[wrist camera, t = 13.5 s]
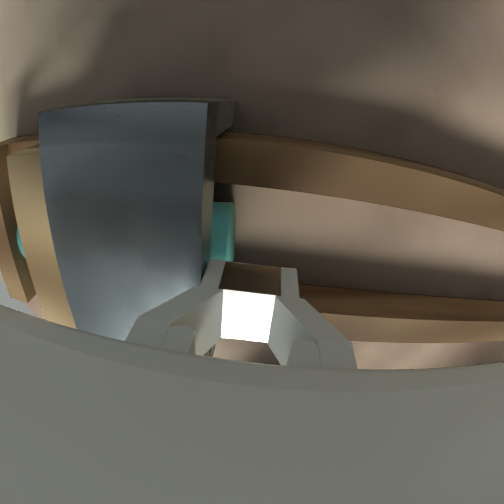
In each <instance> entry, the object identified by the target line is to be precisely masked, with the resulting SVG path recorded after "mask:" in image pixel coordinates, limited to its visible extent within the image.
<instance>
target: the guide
mask: <svg viewBox="0 0 504 504" xmlns="http://www.w3.org/2000/svg"><path fill="white" fill-rule="evenodd" d="M214 182H217V183H228V184H238V185H247V186H256V187H265V188H274V189H282V190H290V191H297V192H305V193H312V194H319V195H326V196H332V197H339V198H345V199H351V200H357V201H363V202H369V203H375V204H381V205H386V206H392V207H397V208H402V209H408V210H413V211H418V212H423V213H428V214H432V215H437V216H442V217H446V218H451V219H455V220H460V221H464V222H468V223H473V224H477V225H481V226H485V227H489V228H493V229H497V230H501V231H504V189H501V188H498V187H495V186H492V185H490V184H487V183H484V182H481V181H478V180H475V179H472V178H469V177H466V176H462V175H459V174H456V173H453V172H449V171H446V170H442V169H439V168H435V167H432V166H428V165H424V164H421V163H417V162H413V161H409V160H405V159H401V158H396V157H392V156H388V155H383V154H379V153H374V152H369V151H365V150H360V149H354V148H349V147H344V146H338V145H333V144H327V143H321V142H314V141H308V140H301V139H294V138H286V137H278V136H270V135H261V134H251V133H240V132H228V131H224V132H222V133H221V134H220V135H218V136H217V142H216V157H215V174H214ZM17 226H18V230H19V234H20V239H21V243H22V247H23V250H24V254H25V257H24V256H23V255H22V253H21V252H20V249H19V246H18V242H17ZM0 269H1V272H2V275H3V278H4V281H5V284H6V286H7V289H8V292H9V294H10V297H11V298H14V299H17V300H20V301H23V302H27V303H28V302H29V301H30V300H31V299H32V298H33V297H34V296H35V294H37V297H38V300H39V302H40V305H41V308H42V311H43V313H44V316H45V319H46V320H47V321H50V322H54V323H57V324H61V325H64V326H67V327H71V328H75V329H77V328H76V325H75V322H74V319H73V316H72V313H71V309H70V306H69V303H68V300H67V296H66V293H65V289H64V286H63V282H62V278H61V275H60V271H59V267H58V263H57V259H56V254H55V250H54V245H53V241H52V236H51V231H50V226H49V220H48V215H47V209H46V202H45V196H44V188H43V180H42V171H41V161H40V149H39V134H34V135H25V136H18V137H14V138H11V139H8V140H5V141H3V142H0ZM298 286H299V297H300V298H302V299H305V300H306V301H307V302H308V303H309V304H310V305H311V306H312V307H313V308H314V309H316V310H317V311H318V312H319V313H320V314H321V315H322V316H323V317H324V318H325V319H326V320H327V321H329V322H330V323H331V324H332V325H333V326H334V327H335V328H336V329H337V330H338V331H339V332H340V333H341V334H343V335H344V336H345V337H346V338H347V339H348V340H349V341H366V342H395V343H463V342H490V341H504V301H491V300H475V299H461V298H447V297H434V296H422V295H410V294H398V293H387V292H376V291H366V290H355V289H345V288H335V287H325V286H316V285H306V284H298Z"/></svg>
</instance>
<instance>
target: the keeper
mask: <svg viewBox="0 0 504 504" xmlns="http://www.w3.org/2000/svg"><path fill="white" fill-rule="evenodd" d="M234 106H235V99H222V98H198V97H149V98H126V99H112V100H104V101H97V102H90V103H84V104H78V105H72V106H67V107H61V108H56V109H52V110H47V111H42V112H38V133H39V149H40V161H41V171H42V180H43V188H44V196H45V202H46V209H47V215H48V220H49V226H50V231H51V236H52V241H53V245H54V250H55V254H56V259H57V263H58V267H59V271H60V275H61V278H62V282H63V286H64V289H65V293H66V296H67V300H68V303H69V306H70V309H71V313H72V316H73V319H74V322H75V325H76V328H77V329H78V330H82V331H86V332H90V333H93V334H97V335H101V336H106V337H110V338H114V339H118V340H123V341H125V340H126V338H127V336H128V334H129V332H130V330H131V329H132V327H133V325H134V323H135V321H136V319H137V317H139V316H140V315H142V314H144V313H146V312H148V311H150V310H152V309H153V308H155V307H157V306H159V305H161V304H163V303H165V302H166V301H168V300H170V299H172V298H174V297H176V296H178V295H179V294H181V293H183V292H185V291H187V290H189V289H190V288H192V287H194V286H200V284H201V281H202V278H203V276H204V273H205V270H206V268H207V265H208V262H209V260H210V259H211V238H212V214H213V193H214V174H215V157H216V142H217V136H218V135H220V134H221V133H222V132H224V131H225V130H226V129H228V128H229V127H231V126H232V125H233V118H234ZM215 345H216V344H215ZM215 345H214V346H213V347H211V348H210V349H209V350H208V351H207V352H206V353H205V354H204V355H203V356H208V357H213V353H214V349H215Z"/></svg>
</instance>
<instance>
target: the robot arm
mask: <svg viewBox="0 0 504 504" xmlns="http://www.w3.org/2000/svg"><path fill="white" fill-rule="evenodd" d="M221 337H224V338H234V339H244V340H251V341H258V342H266V343H267V344H268V346H269V347H270V349H271V351H272V352H273V354H274V355H275V357H276V358H277V360H278V361H279V363H280V365H273V364H263V363H254V362H245V361H237V360H229V359H222V358H215V357H208V356H203V355H204V354H205V353H206V352H207V351H208V350H209V349H210V348H211V347H213V346H214V345H215V344H216V343H217V342H218V341H219V340H220V339H221ZM0 504H504V362H500V363H492V364H483V365H473V366H462V367H448V368H430V369H398V370H364V369H357V365H356V360H355V355H354V351H353V346H352V343H351V342H350V341H349V340H348V339H347V338H346V337H345V336H344V335H343V334H341V333H340V332H339V331H338V330H337V329H336V328H335V327H334V326H333V325H332V324H331V323H330V322H329V321H327V320H326V319H325V318H324V317H323V316H322V315H321V314H320V313H319V312H318V311H317V310H316V309H314V308H313V307H312V306H311V305H310V304H309V303H308V302H307V301H306V300H305V299H302V298H300V297H299V286H298V276H297V269H296V268H286V267H274V266H263V265H255V264H248V263H240V262H233V261H226V260H218V259H210V260H209V262H208V265H207V268H206V270H205V273H204V276H203V278H202V281H201V284H200V286H194V287H192V288H190V289H189V290H187V291H185V292H183V293H181V294H179V295H178V296H176V297H174V298H172V299H170V300H168V301H166V302H165V303H163V304H161V305H159V306H157V307H155V308H153V309H152V310H150V311H148V312H146V313H144V314H142V315H140V316H139V317H137V319H136V321H135V323H134V325H133V327H132V329H131V330H130V332H129V334H128V336H127V338H126V340H125V341H123V340H118V339H114V338H110V337H106V336H101V335H97V334H93V333H90V332H86V331H82V330H78V329H75V328H71V327H67V326H64V325H61V324H57V323H54V322H50V321H47V320H44V319H41V318H37V317H34V316H31V315H28V314H25V313H22V312H19V311H16V310H13V309H10V308H8V307H5V306H2V305H0Z"/></svg>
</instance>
